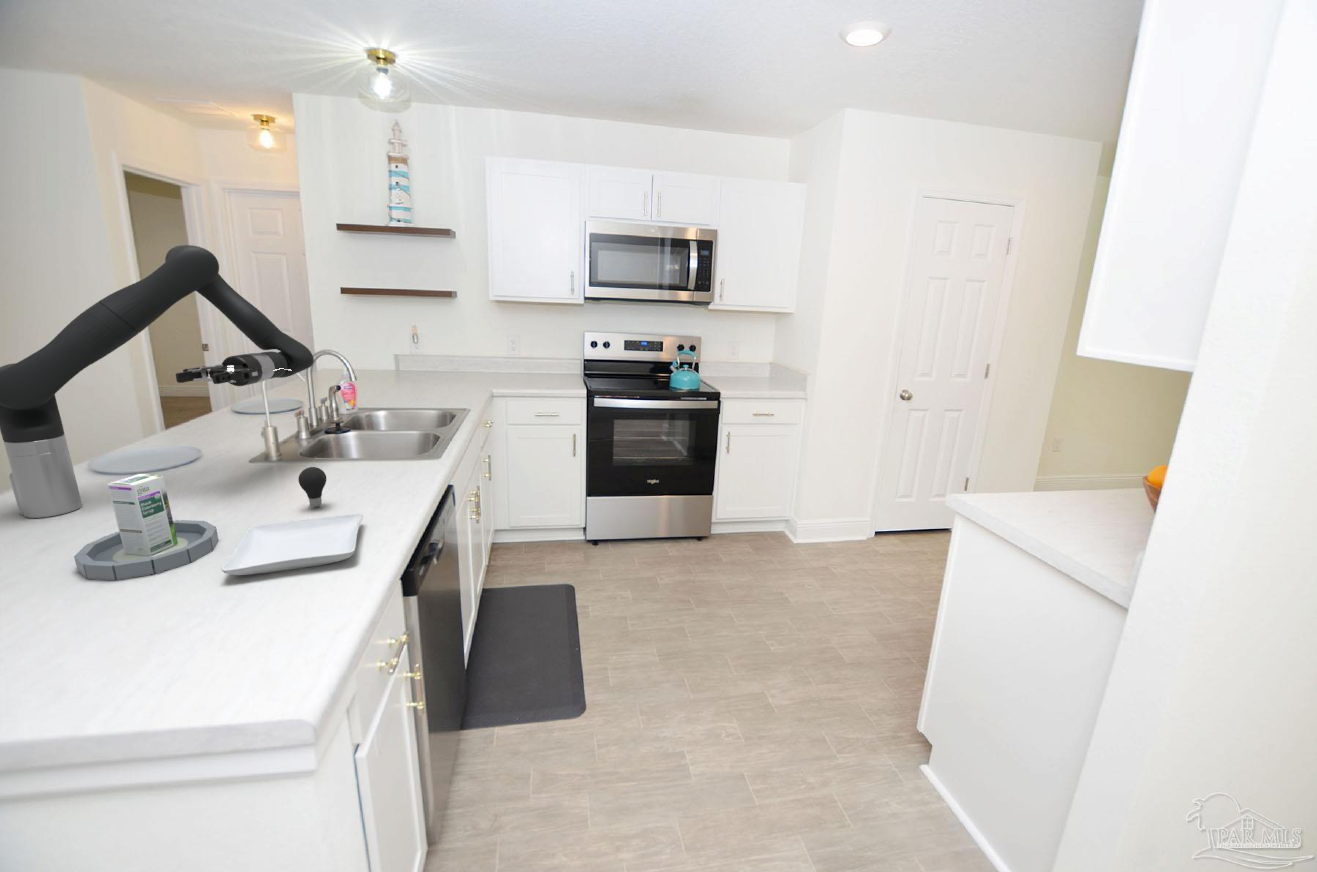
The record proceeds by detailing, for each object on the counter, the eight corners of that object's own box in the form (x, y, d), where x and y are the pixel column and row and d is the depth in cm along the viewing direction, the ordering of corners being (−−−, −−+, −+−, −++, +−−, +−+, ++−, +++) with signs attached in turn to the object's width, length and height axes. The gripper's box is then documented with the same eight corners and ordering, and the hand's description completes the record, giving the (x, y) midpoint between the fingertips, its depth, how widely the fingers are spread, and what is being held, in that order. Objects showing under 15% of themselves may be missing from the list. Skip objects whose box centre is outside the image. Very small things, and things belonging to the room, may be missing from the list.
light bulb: (301, 513, 132) (295, 472, 129) (303, 505, 136) (297, 465, 134) (329, 509, 134) (324, 469, 132) (330, 501, 139) (325, 462, 136)
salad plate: (251, 539, 119) (248, 523, 118) (364, 525, 127) (363, 510, 126) (221, 587, 100) (218, 570, 99) (356, 567, 108) (354, 551, 107)
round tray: (47, 577, 101) (43, 562, 101) (149, 530, 121) (146, 518, 120) (156, 582, 101) (152, 567, 100) (241, 534, 120) (239, 522, 119)
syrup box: (149, 557, 107) (133, 484, 104) (123, 554, 108) (106, 482, 105) (178, 544, 113) (164, 474, 109) (153, 541, 114) (138, 472, 110)
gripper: (219, 353, 143) (162, 361, 128) (274, 354, 143) (223, 363, 127) (224, 382, 145) (168, 394, 130) (278, 384, 145) (229, 396, 129)
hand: (196, 378), depth 128 cm, fingers open, 8 cm apart
